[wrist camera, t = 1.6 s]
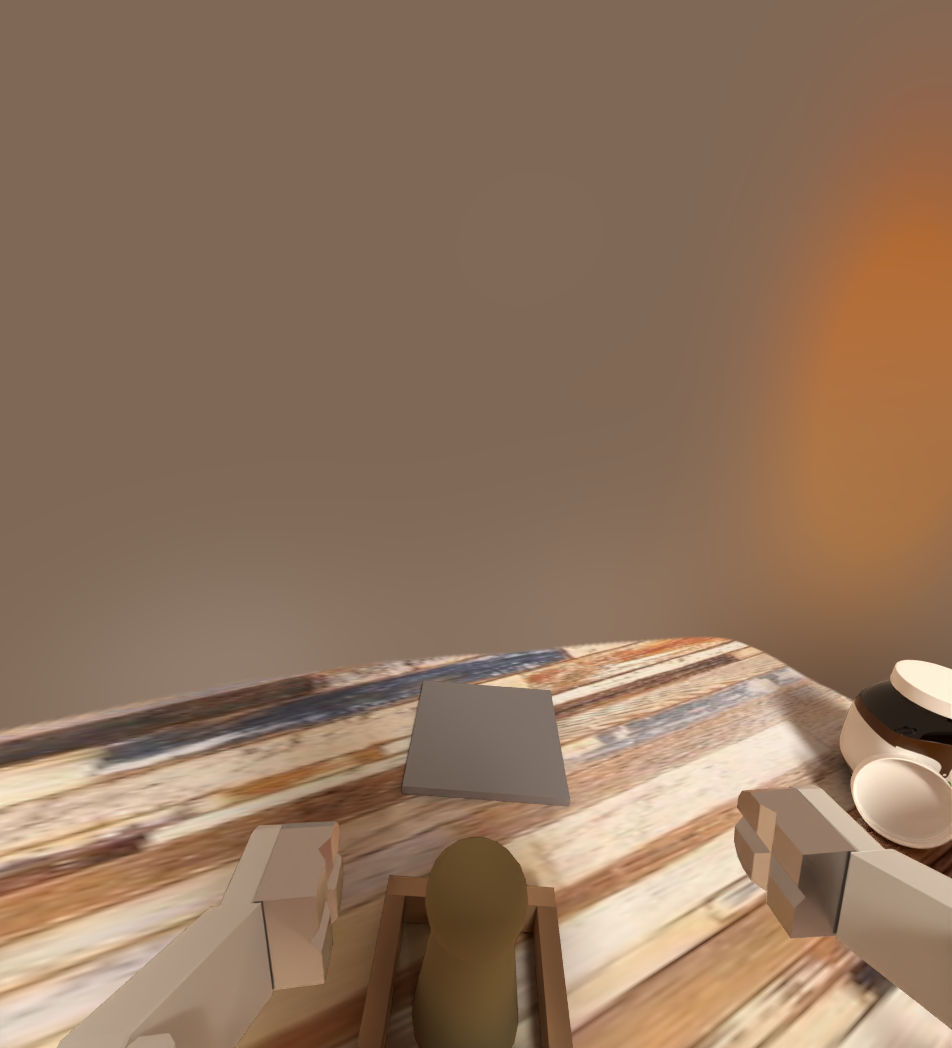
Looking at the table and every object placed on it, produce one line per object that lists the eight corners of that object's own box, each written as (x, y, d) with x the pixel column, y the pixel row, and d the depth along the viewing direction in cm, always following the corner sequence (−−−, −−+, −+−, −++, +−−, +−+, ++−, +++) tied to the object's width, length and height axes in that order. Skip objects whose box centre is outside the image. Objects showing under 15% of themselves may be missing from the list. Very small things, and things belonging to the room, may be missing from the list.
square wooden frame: (344, 1144, 23) (343, 1115, 22) (389, 901, 33) (389, 875, 32) (575, 1162, 23) (582, 1133, 22) (549, 913, 33) (553, 887, 32)
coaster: (401, 793, 41) (402, 785, 41) (423, 686, 55) (423, 680, 54) (568, 806, 41) (569, 798, 41) (549, 696, 55) (550, 690, 54)
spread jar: (929, 766, 48) (977, 666, 45) (1031, 880, 38) (1104, 761, 34) (798, 744, 50) (833, 645, 46) (860, 847, 40) (912, 730, 36)
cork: (466, 926, 32) (478, 797, 29) (540, 1011, 28) (564, 875, 25) (390, 1005, 28) (392, 866, 24) (463, 1118, 24) (479, 972, 20)
